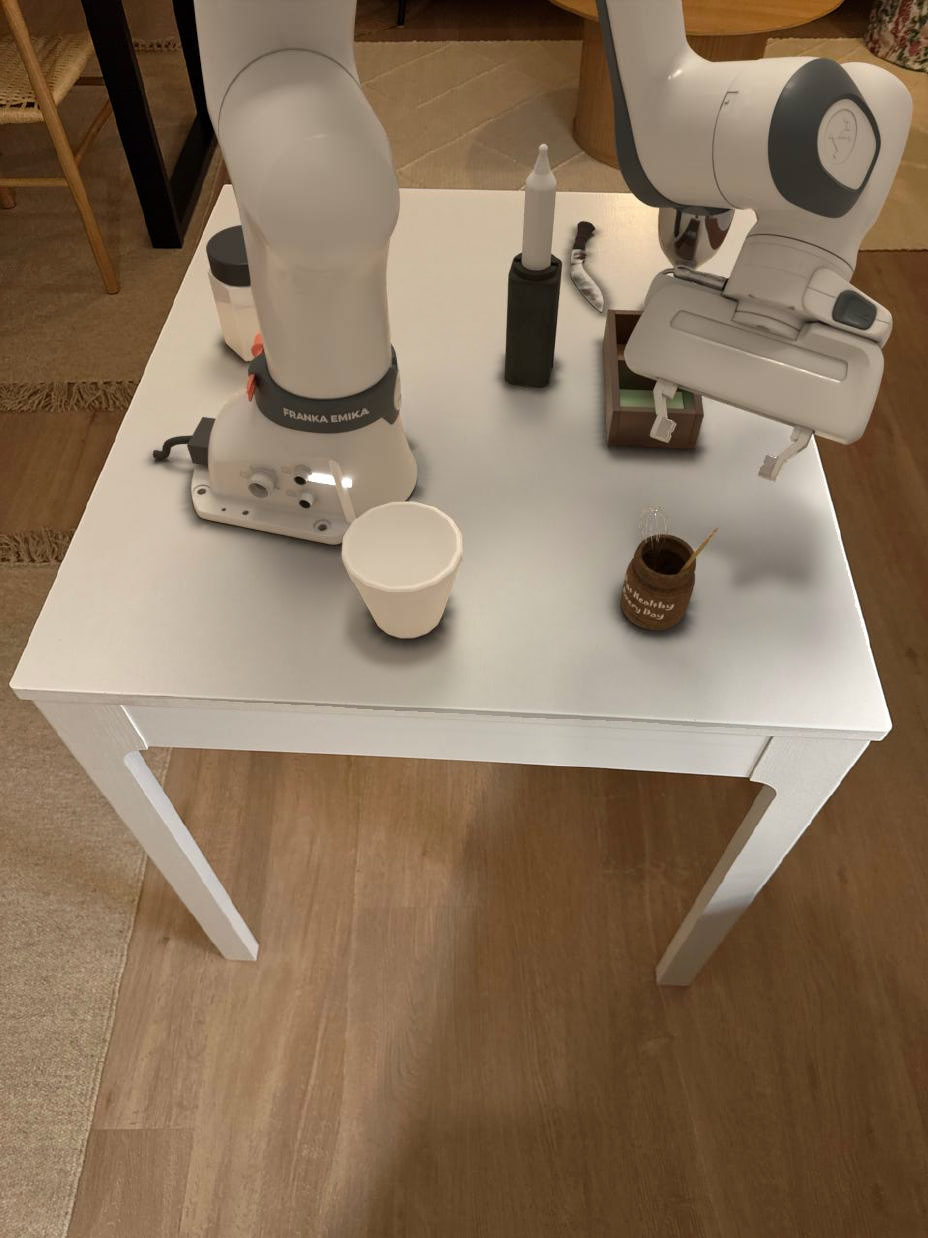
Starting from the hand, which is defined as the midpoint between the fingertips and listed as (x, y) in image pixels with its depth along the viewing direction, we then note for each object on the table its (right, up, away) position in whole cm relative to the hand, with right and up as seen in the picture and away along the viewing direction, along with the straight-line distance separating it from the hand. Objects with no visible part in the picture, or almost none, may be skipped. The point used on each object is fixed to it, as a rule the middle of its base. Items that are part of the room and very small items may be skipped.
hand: (711, 458), depth 74 cm
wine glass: (+4, +22, +33) cm, 40 cm away
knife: (-5, +31, +39) cm, 50 cm away
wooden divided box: (0, +12, +24) cm, 27 cm away
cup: (-26, -13, +6) cm, 29 cm away
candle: (-13, +14, +27) cm, 33 cm away
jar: (-44, +19, +31) cm, 57 cm away
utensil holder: (-3, -12, +6) cm, 14 cm away
